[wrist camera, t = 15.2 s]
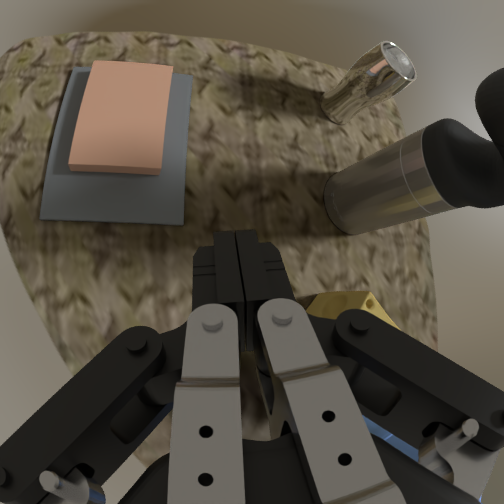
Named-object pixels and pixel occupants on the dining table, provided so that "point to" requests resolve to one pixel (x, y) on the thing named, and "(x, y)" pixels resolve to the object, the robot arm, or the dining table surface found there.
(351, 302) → the cheese
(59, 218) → the mat
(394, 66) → the beer glass
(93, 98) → the tile
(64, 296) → the dining table surface
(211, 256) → the robot arm
